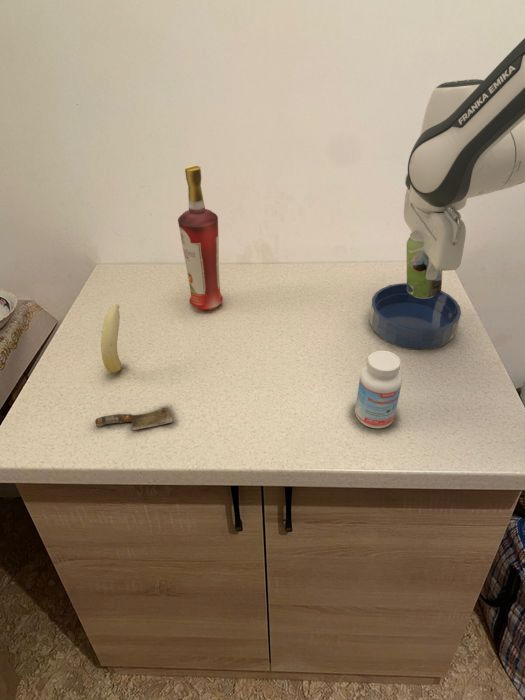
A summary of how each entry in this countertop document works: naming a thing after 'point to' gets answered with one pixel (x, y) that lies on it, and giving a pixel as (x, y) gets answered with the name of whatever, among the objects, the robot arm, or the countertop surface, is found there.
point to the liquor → (200, 246)
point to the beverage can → (420, 270)
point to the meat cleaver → (138, 419)
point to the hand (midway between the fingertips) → (423, 267)
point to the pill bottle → (379, 390)
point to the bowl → (414, 318)
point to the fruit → (111, 340)
